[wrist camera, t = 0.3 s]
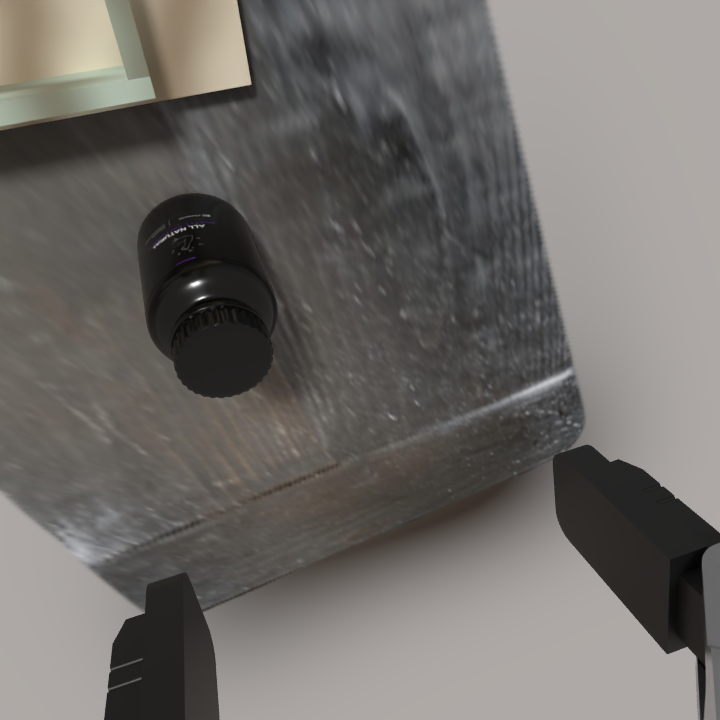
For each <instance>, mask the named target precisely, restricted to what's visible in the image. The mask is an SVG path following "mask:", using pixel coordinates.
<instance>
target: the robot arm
mask: <svg viewBox="0 0 720 720" xmlns="http://www.w3.org/2000/svg"><path fill="white" fill-rule="evenodd" d="M553 473H554V487H555V488H554V489H555V505H556V514H557V518H558V521H559V524H560V526H561V528H562V531H563V532H564V534H565V536H566V537H567V538H568V540H569V541H570V542H571V543H572V545H573V546H574V547H575V548H576V549H577V550H578V551H579V553H580V554H581V555H582V556H583V557H584V558H585V560H586V561H587V562H588V563H589V564H590V565H591V567H592V568H593V569H594V570H595V571H596V572H597V573H598V575H599V576H600V577H601V578H602V579H603V580H604V582H605V583H606V584H607V585H608V586H609V587H610V589H611V590H612V591H613V592H614V593H615V594H616V596H617V597H618V598H619V599H620V600H621V601H622V602H623V604H624V605H625V606H626V607H627V608H628V609H629V611H630V612H631V613H632V614H633V615H634V616H635V618H636V619H637V620H638V621H639V622H640V623H641V624H642V626H643V627H644V628H645V629H646V630H647V632H648V633H649V634H650V635H651V636H652V637H653V638H654V640H655V641H656V642H657V643H658V644H659V645H660V647H661V648H662V649H663V650H664V651H665V652H666V653H667V654H669V653H672V652H674V651H677V650H680V649H682V648H685V647H688V648H689V649H690V650H691V651H692V652H693V653H694V654H695V655H696V687H697V708H698V720H720V533H719V532H718V531H717V530H715V529H714V528H713V527H712V526H711V525H709V524H708V523H707V522H706V521H705V520H703V519H702V518H701V517H700V516H699V515H697V514H696V513H695V512H693V511H692V510H691V509H690V508H689V507H688V506H686V505H685V504H684V503H683V502H682V501H680V500H679V499H675V497H674V495H673V494H672V493H671V492H669V491H668V490H667V489H666V488H664V487H661V486H660V483H659V482H657V481H656V480H655V479H654V478H653V477H651V476H650V475H649V474H648V473H646V472H645V471H644V470H643V469H641V468H638V467H636V466H633V465H631V464H629V463H626V462H623V461H621V460H619V459H618V460H615V461H613V462H609V461H608V460H607V459H606V458H605V457H604V456H603V455H601V454H600V453H599V452H598V451H597V450H595V448H593V447H592V446H590V445H584V446H581V447H578V448H575V449H571V450H568V451H565V452H562V453H559V454H556V455H555V456H554V458H553ZM110 669H111V672H110V674H109V682H108V690H109V692H108V693H107V700H106V708H105V718H104V720H219V705H218V691H217V677H216V662H215V653H214V647H213V642H212V638H211V634H210V631H209V628H208V625H207V623H206V620H205V617H204V615H203V612H202V610H201V607H200V605H199V602H198V599H197V597H196V594H195V592H194V589H193V587H192V584H191V582H190V579H189V577H188V575H187V574H186V573H182V574H178V575H175V576H172V577H169V578H166V579H163V580H160V581H157V582H153V583H150V584H148V586H147V590H146V607H145V614H141V615H138V616H135V617H132V618H129V619H127V620H125V622H124V624H123V626H122V628H121V630H120V632H119V634H118V635H117V637H116V639H115V641H114V643H113V646H112V656H111V664H110Z"/></svg>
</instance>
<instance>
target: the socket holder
mask: <svg viewBox="0 0 720 720" xmlns="http://www.w3.org/2000/svg"><path fill="white" fill-rule="evenodd" d="M246 85H251V79H250V73H249V67H248V62H247V56H246V50H245V44H244V39H243V33H242V27H241V21H240V15H239V10H238V4H237V0H0V130H6V129H11V128H17V127H22V126H28V125H33V124H39V123H44V122H50V121H55V120H60V119H66V118H71V117H77V116H82V115H88V114H93V113H99V112H104V111H110V110H115V109H121V108H126V107H132V106H137V105H143V104H148V103H153V102H159V101H164V100H170V99H175V98H181V97H186V96H192V95H197V94H203V93H208V92H214V91H219V90H225V89H230V88H235V87H241V86H246Z"/></svg>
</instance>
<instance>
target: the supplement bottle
mask: <svg viewBox="0 0 720 720" xmlns="http://www.w3.org/2000/svg"><path fill="white" fill-rule="evenodd" d="M137 247H138V259H139V267H140V276H141V284H142V292H143V300H144V308H145V316H146V322H147V327H148V331H149V334H150V337H151V339H152V341H153V342H154V344H155V345H156V347H157V348H158V349H159V350H160V351H161V352H162V353H163V354H164V355H165V356H166V357H167V358H169V359H170V360H172V361H173V362H174V368H175V371H176V372H177V377H178V378H179V379H180V380H181V382H182V384H183V385H185V386H187V388H188V390H191V391H193V392H194V393H195V394H201V395H202V396H204V397H208V396H209V397H211V398H216V397H218V398H224V397H232V396H234V395H240V394H241V393H243V392H246V391H249V390H250V389H251V388H253V387H255V386H256V385H257V384H258V383H259V382H261V381H262V380H263V378H264V376H266V375H267V373H268V370H269V369H270V368H271V362H272V361H273V357H272V355H273V349H272V343H271V340H270V337H271V335H272V333H273V331H274V328H275V325H276V321H277V302H276V298H275V295H274V292H273V289H272V286H271V284H270V281H269V279H268V276H267V273H266V271H265V268H264V266H263V263H262V261H261V258H260V255H259V253H258V250H257V248H256V245H255V242H254V240H253V237H252V235H251V232H250V230H249V228H248V225H247V223H246V222H245V220H244V218H243V217H242V215H241V214H240V213H239V212H238V211H237V210H236V209H235V208H234V207H233V206H232V205H230V204H229V203H227V202H226V201H224V200H222V199H220V198H217V197H215V196H211V195H207V194H200V193H190V194H182V195H178V196H175V197H172V198H170V199H167V200H165V201H164V202H162V203H160V204H159V205H158V206H156V207H155V208H154V209H153V210H152V211H151V212H150V213H149V214H148V216H147V217H146V218H145V220H144V222H143V223H142V226H141V228H140V231H139V235H138V244H137Z"/></svg>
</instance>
